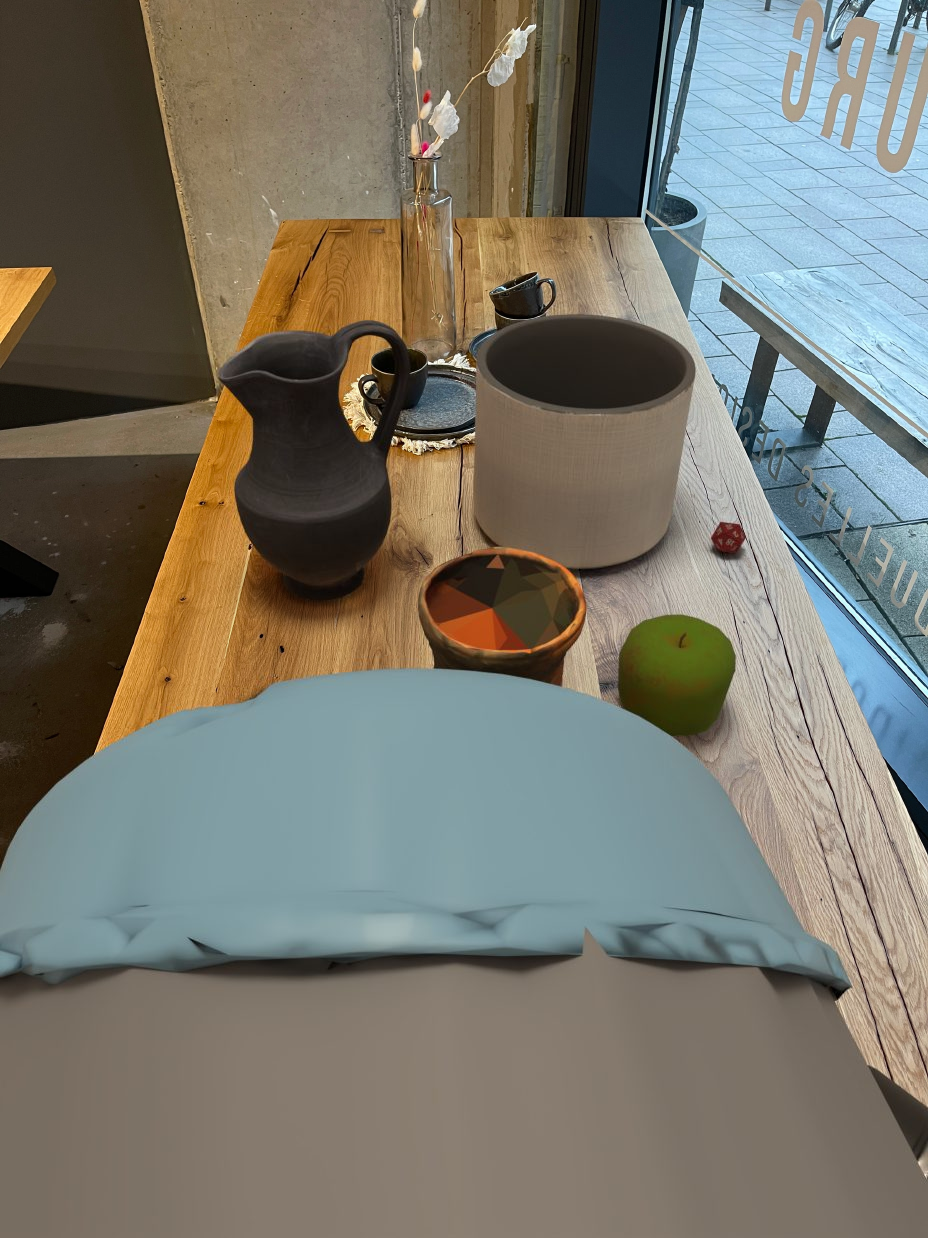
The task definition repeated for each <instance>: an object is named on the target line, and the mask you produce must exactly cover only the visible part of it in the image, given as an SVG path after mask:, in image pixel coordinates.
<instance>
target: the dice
mask: <svg viewBox="0 0 928 1238" xmlns="http://www.w3.org/2000/svg"><path fill="white" fill-rule="evenodd" d="M718 523H719V524H718V525H717V527H716V529H715V530H714V532H713V533H712V535H711V537H710V540H711V542H712V543H713V545H714V547H715V549H716V551H718V552H723V553H729V554H730V553H731V554H736V555H737V554H738V552H739V550H740V548H741V547H742V546H743V544H744V542H745V540H746V539H747V536H746V534H745V532H744V529H743V528H742V525H741V524H740V523H733V522H727V521H720V522H718Z"/></svg>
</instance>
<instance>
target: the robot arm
mask: <svg viewBox="0 0 928 1238" xmlns="http://www.w3.org/2000/svg"><path fill="white" fill-rule="evenodd" d="M261 692H262V693H261ZM261 692H260V693H261V694H260V693H258V694H259V695H258V694H257V695H258V696H257V695H256V696H257V697H256V698H254V697H253V698H254V699H252V698H251V700H250V699H248V700H246V701H245V700H244V701H242V702H238V703H230V704H222V705H214V706H212V705H211V706H199V707H196V708H192V709H182V710H179V711H176V712H173V713H170V714H168V715H166V716H164V717H161V718H159V719H157V720H154V721H153V722H151V723H149V724H147V725H145V726H142V727H141V728H139V729H136V730H134V731H133V732H131V733H129V734H127V735H126V736H124V737H122V738H120V739H118V740H116V741H115V742H112V743H110V744H109V745H107V746H105V747H104V748H102V749H100V750H99V751H97V752H96V753H94V754H93V755H91V756H89V758H87V759H86V760H84V761H83V762H82V763H80V764H79V765H78V766H77V767H75V768H74V769H73V770H72V771H70V772H69V773H67V774H66V775H65V776H64V777H63V778H62V779H60V780H59V781H57V782H56V783H55V784H54V785H53V787H51V789H50V790H49V791H48V792H47V793H46V794H45V795H44V796H43V797H42V798H41V800H40V801H38V803H37V804H36V805H35V806H34V807H33V808H32V809H31V811H30V812H29V813H28V814H27V816H26V817H25V818H24V820H23V821H22V823H21V825H20V826H19V827H18V828H17V831H16V832H15V835H14V836H13V838H12V840H11V842H10V844H9V845H8V847H7V850H6V853H5V856H4V858H3V861H2V865H1V867H0V1238H928V1105H925V1104H924V1103H923V1102H922V1101H920V1100H919V1099H917V1098H916V1097H915V1096H914V1095H912V1094H911V1093H909V1091H907V1090H906V1089H904V1088H903V1087H901V1085H899V1084H897V1083H896V1082H895V1081H893V1080H892V1079H891V1078H890V1077H889V1076H887V1075H886V1074H884V1073H883V1072H881V1071H880V1070H879V1069H877V1068H876V1067H874V1066H871V1065H869V1064H868V1063H867V1060H866V1059H865V1057H864V1056H863V1053H862V1051H861V1049H860V1048H859V1046H858V1044H857V1041H856V1040H855V1038H854V1037H853V1034H852V1033H851V1030H850V1029H849V1026H848V1024H847V1022H846V1021H845V1019H844V1016H843V1015H842V1013H841V1011H840V1009H839V1007H838V1005H837V1004H836V1001H839V1000H840V999H841V998H842V996H843V995H844V994H845V993H847V991H848V990H850V989H853V985H852V982H851V980H850V978H849V976H848V973H847V972H846V968H845V967H844V965H843V962H842V959H841V958H840V956H839V953H838V952H837V951H836V950H835V949H834V948H833V947H832V946H831V945H830V944H829V943H826V942H825V941H823V940H821V939H819V938H818V937H816V936H814V935H812V934H810V933H808V932H807V931H806V930H805V928H804V926H803V925H802V923H801V921H800V920H799V917H798V915H797V914H796V912H795V911H794V909H793V907H792V905H791V903H790V902H789V900H788V898H787V896H786V894H785V893H784V891H783V889H782V888H781V885H780V884H779V882H778V880H777V878H776V877H775V875H774V873H773V871H772V869H771V868H770V866H769V864H768V863H767V861H766V859H765V857H764V855H763V854H762V852H761V850H760V849H759V847H758V845H757V843H756V841H755V840H754V838H753V836H752V834H751V833H750V831H749V829H748V827H747V826H746V824H745V822H744V820H743V818H742V816H741V815H740V813H739V811H738V809H737V808H736V806H735V805H734V803H733V801H732V799H731V798H730V795H729V794H728V793H727V791H726V790H725V788H724V787H723V785H722V784H721V783H720V781H719V780H718V779H717V778H716V776H715V775H714V774H713V773H712V772H711V771H710V770H709V768H707V766H705V765H704V764H703V763H702V762H701V761H700V760H699V758H698V757H697V756H696V755H695V754H694V753H693V752H692V751H690V750H689V749H688V748H687V747H686V746H685V745H683V744H682V743H681V742H680V741H679V740H678V739H676V738H674V736H670V735H669V734H667V733H665V732H664V731H662V730H661V729H659V728H658V727H656V726H654V725H653V724H651V723H650V722H648V721H646V720H644V719H643V718H641V717H639V716H637V715H635V714H633V713H631V712H629V711H627V710H625V709H624V708H623V707H620V706H618V705H616V704H613V703H611V702H609V701H606V700H604V699H601V698H599V697H596V696H593V695H591V694H587V693H584V692H581V691H577V690H575V689H572V688H568V687H564V686H562V687H561V686H557V685H553V684H548V683H544V682H540V681H536V680H532V679H527V678H521V677H515V676H510V675H504V674H495V673H486V672H477V671H465V670H450V669H434V668H419V667H417V668H416V667H406V668H404V667H403V668H402V667H401V668H377V669H366V670H355V671H346V672H345V671H344V672H336V673H329V674H319V675H311V676H306V677H300V678H294V679H288V680H283V681H278V682H275V683H271V684H270V685H269V686H268V687H266V688H265V689H264V690H263V691H261Z"/></svg>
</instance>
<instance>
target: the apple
mask: <svg viewBox="0 0 928 1238" xmlns="http://www.w3.org/2000/svg"><path fill="white" fill-rule="evenodd" d="M736 658H737V655H736V653H735V650H734V646H733V643H732V641H731V640H730V639H729V638H728V637H727V636H726V634H725V633H724V632H723V630H721V629H720V628H719V627H717V626H715V625H713V624H711V623H710V622H708V621H706V620H703V619H701V618H699V617H694V616H692V615H691V616H690V615H687V614H682V613H681V614H680V613H679V614H663V615H659V616H655V617H652V618H648V619H644V620H642V621H641V622H639V623H638V624H637V625H635V626H634V627H632V628H631V629H630V631H629V633H628V635H627V636H626V638H625V641H624V643H623V645H622V647H621V649H620V651H619V652H618V672H617V673H618V674H617V692H618V697H619V702H620V705H621V706H622V707H621V708H622V709H625V710H627V711H629V712H631V713H633V714H635V715H637V716H639V717H641V718H643V719H644V720H646V721H648V722H650V723H651V724H653V725H654V726H656V727H658V728H659V729H661V730H662V731H664V732H665V733H667V734H669V735H670V736H672V737H690V736H694V735H697V734H700V733H704V732H706V731H708V730H709V728H711V726H712V725H714V724H715V723H716V722H717V720H718V719H719V716H720V713H721V711H722V709H723V706H724V704H725V701H726V698H727V696H728V692H729V690H730V687H731V684H732V681H733V678H734V676H735V673H736V664H737V663H736V662H737V661H736V660H737V659H736Z"/></svg>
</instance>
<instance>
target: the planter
mask: <svg viewBox="0 0 928 1238" xmlns="http://www.w3.org/2000/svg"><path fill="white" fill-rule="evenodd" d="M475 361H476V363H475V367H476V368H475V370H476V371H475V412H474V413H475V416H474V417H475V419H474V449H473V453H474V454H473V483H472V484H473V486H472V494H473V496H472V501H473V510H474V516H475V519H476V521H477V523H478V525H479V526H480V529H481V530H482V531H483V532H484V534H485V535H486V536H487V537H488V538H489V539H490V540H491V541H492V542H493V543H495V544H496V545H497V546H498V547H508V548H514V549H520V550H524V551H529V552H534V553H537V554H539V555H541V556H544V557H546V558H548V559H551V560H553V561H555V562H557V563H559V564H560V565H562V566H564V567H565V568H566V569H568V570H592V569H602V568H607V567H611V566H617V565H620V564H624V563H627V562H629V561H631V560H634V559H636V558H638V557H640V556H642V555H644V554H645V553H647V552H649V551H650V550H651V549H653V548H654V547H655V546H656V545H657V544H659V542H660V541H661V540H662V538H664V536H665V534H666V533H667V531H668V528H669V525H670V523H671V519H672V514H673V511H674V510H673V509H674V504H675V499H676V492H677V488H678V487H677V485H678V480H679V474H680V467H681V461H682V455H683V449H684V443H685V436H686V430H687V425H688V419H689V415H690V408H691V402H692V397H693V391H694V385H695V379H696V371H697V370H696V368H697V367H696V362H695V360H694V357H693V356H692V354H691V353H690V351H689V350H688V349H687V348H686V347H685V346H684V345H683V344H682V343H680V342H679V341H678V340H677V339H675V338H674V337H672V336H671V335H669V334H667V333H665V332H663V331H661V330H659V329H657V328H654V327H652V326H649V325H646V324H644V323H640V322H637V321H633V320H628V319H625V318H619V317H613V316H607V315H599V314H583V313H582V314H581V313H570V314H569V313H568V314H567V313H566V314H553V315H544V316H539V317H533V318H529V319H525V320H522V321H518V322H515V323H512V324H510V325H507V326H505V327H503V328H501V329H499V330H497V331H496V332H494V333H493V334H491V335H489V336H488V338H487V339H485V340H484V341H483V343H482V344H481V345H480V347H479V349H478V351H477V354H476V360H475Z"/></svg>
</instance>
